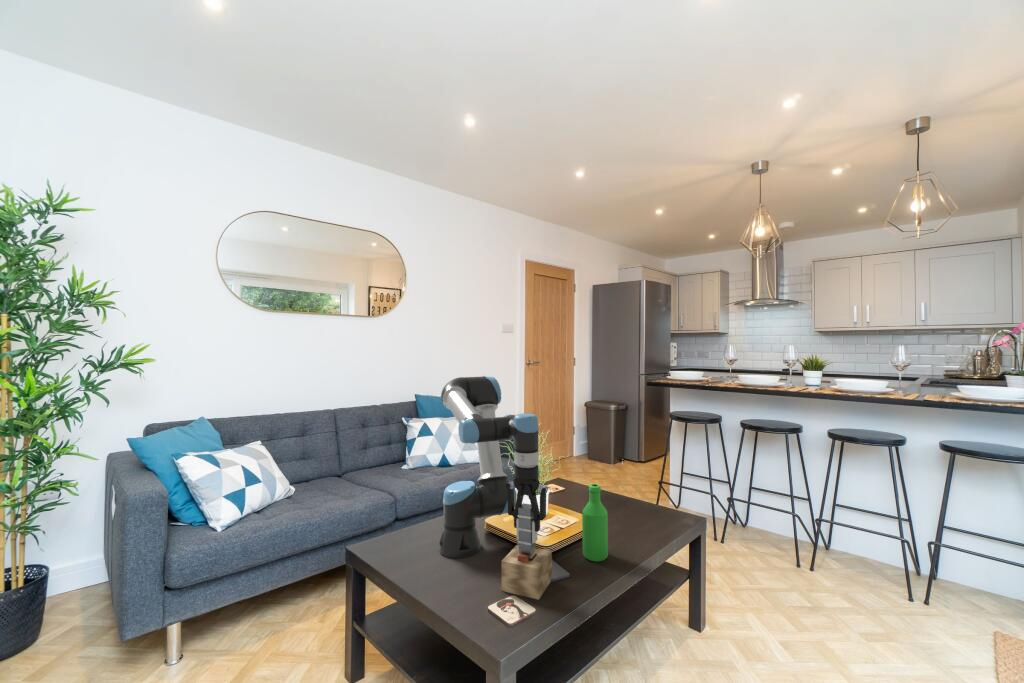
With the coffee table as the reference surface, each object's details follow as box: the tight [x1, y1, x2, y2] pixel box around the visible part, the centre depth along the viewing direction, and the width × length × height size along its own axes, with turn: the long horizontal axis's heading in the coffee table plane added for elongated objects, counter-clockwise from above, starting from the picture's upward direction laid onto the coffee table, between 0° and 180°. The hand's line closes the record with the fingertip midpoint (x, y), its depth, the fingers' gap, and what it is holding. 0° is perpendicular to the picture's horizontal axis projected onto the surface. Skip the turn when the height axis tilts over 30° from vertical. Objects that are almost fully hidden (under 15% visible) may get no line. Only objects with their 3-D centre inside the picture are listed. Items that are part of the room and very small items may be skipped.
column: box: [517, 502, 536, 561], centre depth 137 cm, size 4×4×22 cm
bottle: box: [581, 483, 609, 562], centre depth 155 cm, size 9×9×25 cm
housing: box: [500, 544, 553, 601], centre depth 137 cm, size 12×12×11 cm
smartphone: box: [550, 559, 571, 583], centre depth 147 cm, size 8×1×15 cm
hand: (527, 539), depth 137 cm, fingers closed on column, 4 cm apart
